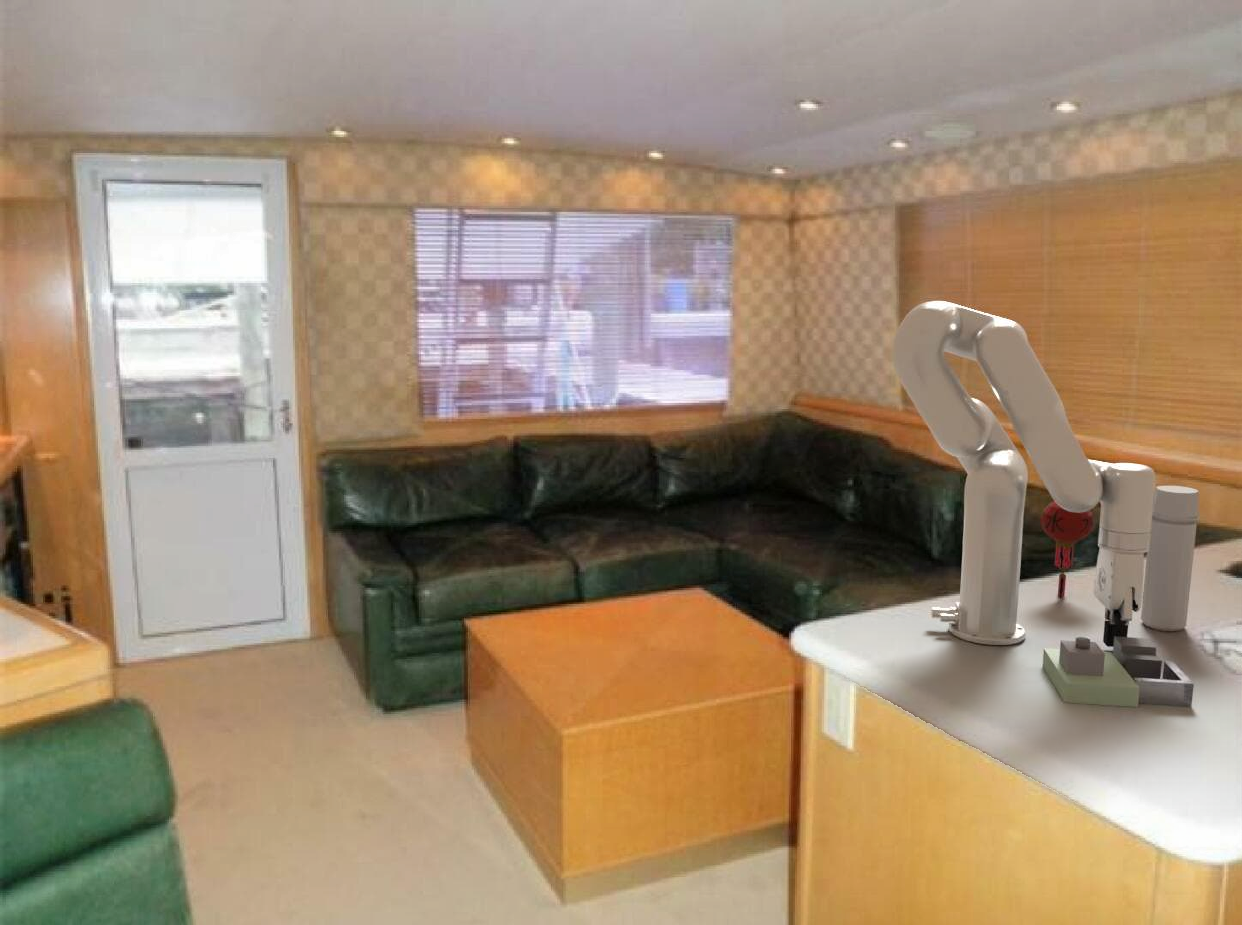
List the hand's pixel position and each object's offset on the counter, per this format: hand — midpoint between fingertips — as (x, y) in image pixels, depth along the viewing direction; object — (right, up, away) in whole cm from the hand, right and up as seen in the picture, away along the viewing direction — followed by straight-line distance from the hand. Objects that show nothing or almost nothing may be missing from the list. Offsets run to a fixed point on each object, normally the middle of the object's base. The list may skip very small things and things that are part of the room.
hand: (1114, 645), depth 165 cm
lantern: (+4, +4, +28) cm, 29 cm away
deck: (-11, -4, -14) cm, 18 cm away
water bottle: (+15, +1, +12) cm, 19 cm away
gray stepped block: (-2, -3, -10) cm, 10 cm away
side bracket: (-3, -4, -17) cm, 17 cm away
